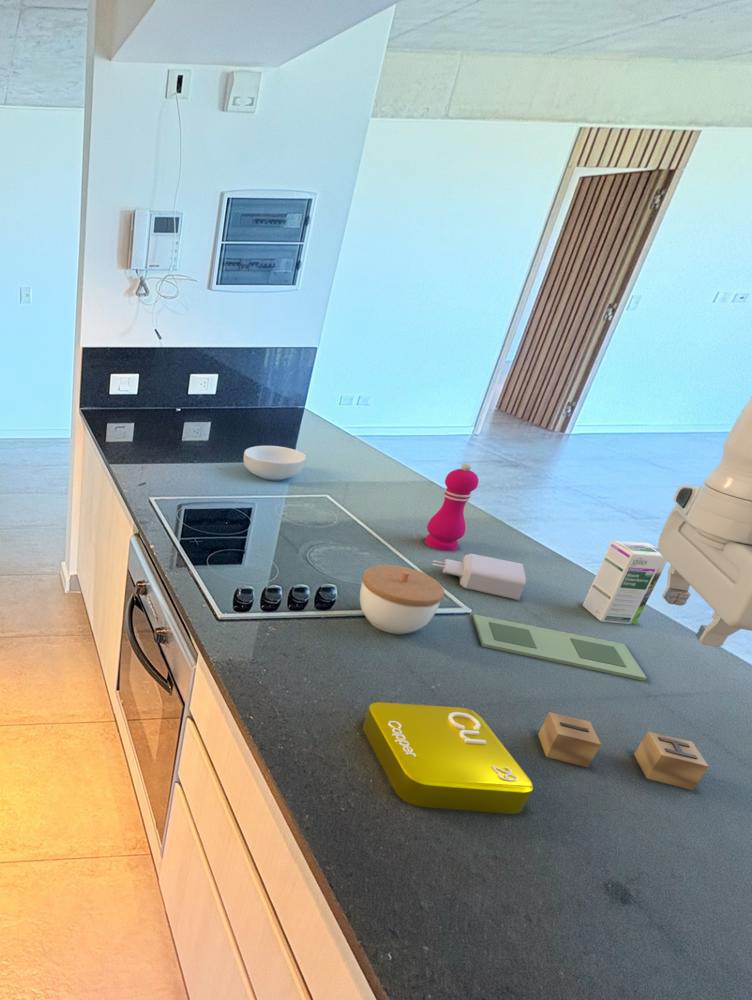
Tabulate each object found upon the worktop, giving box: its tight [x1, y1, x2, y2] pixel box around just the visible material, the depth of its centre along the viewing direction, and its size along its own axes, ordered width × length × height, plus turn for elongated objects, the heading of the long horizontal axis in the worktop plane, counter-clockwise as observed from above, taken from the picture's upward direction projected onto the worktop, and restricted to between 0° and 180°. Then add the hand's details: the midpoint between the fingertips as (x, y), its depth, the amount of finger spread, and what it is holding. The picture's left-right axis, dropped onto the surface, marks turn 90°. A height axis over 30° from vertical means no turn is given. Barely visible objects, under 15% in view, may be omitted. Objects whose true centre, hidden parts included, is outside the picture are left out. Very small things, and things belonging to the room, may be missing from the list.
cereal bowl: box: [243, 445, 307, 481], centre depth 179 cm, size 17×17×7 cm
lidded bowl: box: [359, 564, 445, 635], centre depth 110 cm, size 13×13×11 cm
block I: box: [537, 711, 602, 769], centre depth 84 cm, size 5×5×5 cm
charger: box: [432, 553, 527, 601], centre depth 125 cm, size 5×9×15 cm
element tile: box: [362, 701, 534, 815], centre depth 82 cm, size 15×15×5 cm
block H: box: [633, 731, 710, 791], centre depth 81 cm, size 5×5×5 cm
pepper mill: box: [424, 462, 479, 552], centre depth 136 cm, size 7×7×20 cm
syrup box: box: [582, 540, 668, 625], centre depth 112 cm, size 6×6×14 cm
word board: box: [472, 613, 647, 682], centre depth 106 cm, size 22×10×1 cm, turn 65°
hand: (688, 621), depth 74 cm, fingers open, 8 cm apart
